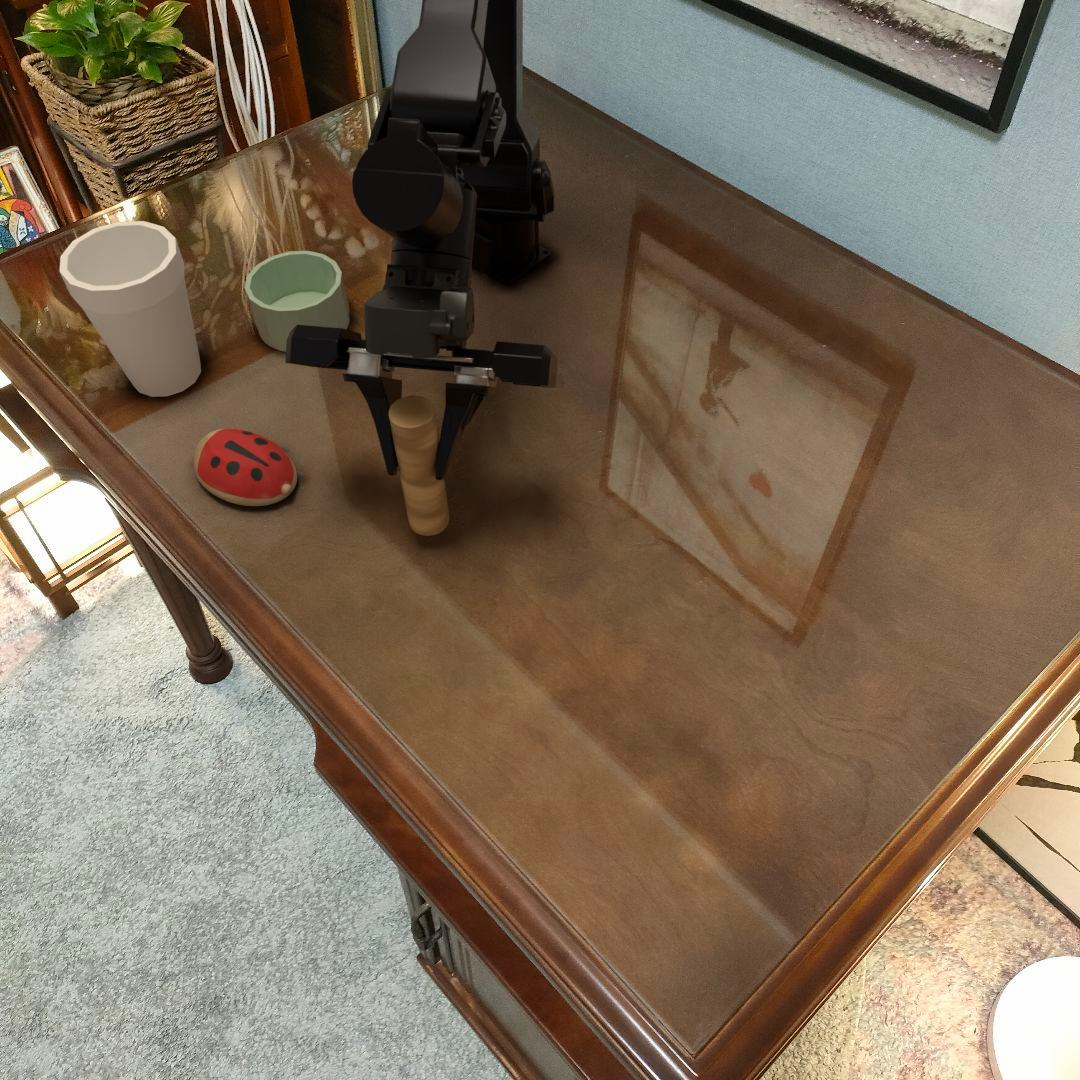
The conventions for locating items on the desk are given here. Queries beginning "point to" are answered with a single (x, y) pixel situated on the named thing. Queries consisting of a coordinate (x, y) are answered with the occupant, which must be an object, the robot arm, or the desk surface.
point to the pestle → (419, 463)
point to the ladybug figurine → (244, 468)
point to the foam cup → (137, 302)
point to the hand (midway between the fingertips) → (415, 477)
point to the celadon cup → (296, 295)
